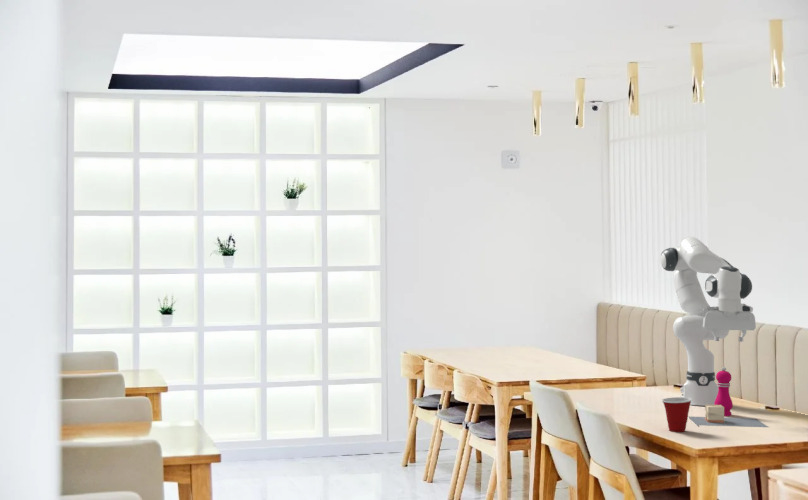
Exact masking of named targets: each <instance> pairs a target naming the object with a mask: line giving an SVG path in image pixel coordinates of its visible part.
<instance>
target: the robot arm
mask: <svg viewBox="0 0 808 500" xmlns="http://www.w3.org/2000/svg"><path fill="white" fill-rule="evenodd" d="M660 264H661V267H662V268H663V269H664V270H665V271H667V272H674V274H673V283H674V289H675V293H676V296H677V299H678V302H679V306H680V308H681V310H683V311H684V312H685V313H687V314H688V315H684V316H679V317H677V318H675V320H674V322H673V324H672V331H673V332H672V333H674V336H675V337H676V339H678V340H679V341H680V342H681V343H682V345H683V346H684V347H685V351H686V357H687V371H686V381H685V382H684V384H683V386H681V387H680V389H679V391H680V393H681V397H685V398H691V399H692V401H691V403H690V406H700V407H701V406H703V407H705V405H714V402H715V399H716V397H717V395H718V386H717V382H716V381H715V380H716V372H715V356H714V353H713V352H712V351H711V350H709V349H707V348H706V347H705V344H704V341H715V342H720V340H721V339H725V338H726V337H727V336H728V335H729V332H730V331H741V333H742V334H741V335H740V336H738V342H744V337H745V336H746V334H747V331H755V329H756V325H757V324H756V317H755V314H754V313H753V311H754V308H753V307H752V306H751V305H747V304H746V303H742V300H745V299H746V298H747V297H748V296H749V295H750V294H751V293H752V291H753V284H752V280H751V279H750V278H749V277H748V276H747V274H744V273H741V272H740V269H739V268H737V267H734V266H733V265H732V264H731V263H730V262H729V261H728V260H726V259H724V258H722V257H721V256H719V255H717V254H716V253H714V252H713V251H712V250H710V248H709V247H708V246H707V245H706V244H704V243H703V242H702V241H701V240H700V239H699V238H697V237H694V236H690V237H689V236H688V237H686V238H685V239H683V240H682V241H681V242H680V246H676V247H668V248H665V249H664V250H663V251H662V252H661V253H660ZM698 273H701V274H711V275H709V276H708V277H707V278H706V280H705V283H704V285H705V286H704V288H705V292H706V293H707V295H708V296H709V297H711V298H716V299H717V306H711V305H710V304H709V303H708V301H707V299H706V297H705V294H704V292H703V289H702V286H701V283H700V281H699V277H698Z"/></svg>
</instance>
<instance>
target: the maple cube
mask: <svg viewBox="0 0 808 500" xmlns="http://www.w3.org/2000/svg"><path fill="white" fill-rule="evenodd" d="M704 417H705V420H706V421H707V422H712V423H724V418H725V416H724V407H723V406H722V405H705V406H704Z"/></svg>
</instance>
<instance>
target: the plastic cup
mask: <svg viewBox="0 0 808 500" xmlns="http://www.w3.org/2000/svg"><path fill="white" fill-rule="evenodd" d="M691 401H692V399H691V398H685V397H684V396H679V397H667V398H663V399H661V402H662V403H663V406H664V409H665V415H666V421H667V427H668V430H669V432H673V433H684V432H686V427H687V423H688V419H689V412H690V406H691V405H690V403H691Z"/></svg>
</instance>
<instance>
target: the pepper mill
mask: <svg viewBox="0 0 808 500" xmlns="http://www.w3.org/2000/svg"><path fill="white" fill-rule="evenodd" d="M715 380H716V381H717V382H716V384H717V386H718V395H717V397H716V399H715V402H714V405H722V406H723V407H724V417H731V416H732V411H731V410H732V409H733V406H734V405H733V400H732V398H731V396H730V387H731V383H730V382H731V381H732V375H731V373H730V371H727V368H726V367H725V366H723V367H721V370H720V371H717V373H715Z"/></svg>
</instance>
